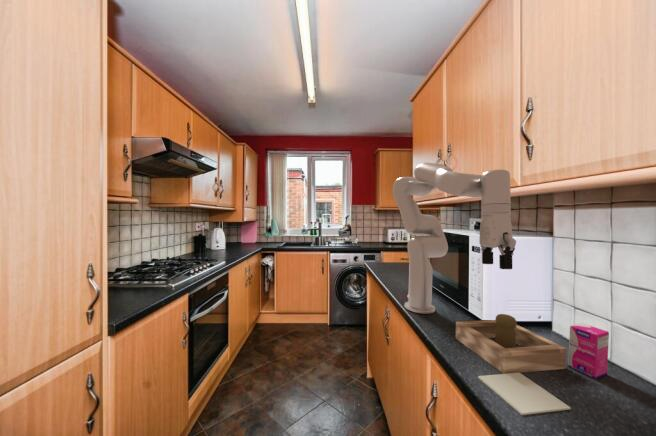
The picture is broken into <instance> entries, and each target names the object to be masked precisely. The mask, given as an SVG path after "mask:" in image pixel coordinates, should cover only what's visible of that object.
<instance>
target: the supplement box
mask: <svg viewBox="0 0 656 436" xmlns="http://www.w3.org/2000/svg"><path fill="white" fill-rule="evenodd" d="M609 333H610V332H609V331H608V330H604V329H601V328H598V327H594V326H591V325H589V324H586V323H583V322H580V323H577V324H573V325H570V326H569V339H568V343H569V344H568V363H567V366H568V367H569V368H571V369H574V370H575V371H579V372H580V373H582V374H585V375H587V376H589V377H590V378H593V379H595V380H596V379H597V378H598V379H599V378H600V377H603V376H607V375H608V357H609V339H610V337H609V336H610V334H609Z"/></svg>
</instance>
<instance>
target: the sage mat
mask: <svg viewBox="0 0 656 436" xmlns="http://www.w3.org/2000/svg"><path fill="white" fill-rule="evenodd" d="M477 379H479V380H480V381H481V382H482V383H483V384H484V385H485V386H487V387H488V388H489V389H491V390H492V391H493V392H494V393H495V395H497V396H499V397H500V399H502V400H503V401H505V403H507V404H508V405H509V406H510V407H512V408H513V409H514V410H515V411H516V412H517V413H519V415H520V416H528V415H537V414H543V413H552V412H560V411H567V410H569V411H570V410H571V409H572V408H571V406H569V405H567V404H566V403H564V402H563V401H562V400H560V399H559V398H557V397H555V395H553V394H552V393H550V392H549V391H547V390H546V389H544V388H543V387H542V386H540V385H538V383H536V382H534V381H532V380H531V379H530V378H528V377H526V376H525V375H524V374H522V372H521V373H508V374H503V373H500V374H499V373H498V374H490V375H489V374H487V375H478V376H477Z"/></svg>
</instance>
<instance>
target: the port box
mask: <svg viewBox="0 0 656 436" xmlns="http://www.w3.org/2000/svg"><path fill="white" fill-rule="evenodd" d="M496 330H497V323H496V319H487V320H486V319H485V320H468V321H467V320H465V321H455V339H456V340H457V341H458V342H459V343H461V344H462V345H464V346H466V347H467V348H468V349H469V350H471V351H472V352H474V353H475V354H477V356H479V357H480V358H482V359H483V360H484V361H486V362H487V363H488V364H490V365H491V366H493V368H495V369H497V371H499V372H501V374H508V373H521V374H522V373H531V372H542V371H552V370H555V371H556V370H564V369H565V370H566V365H567V363H566V360H567V347H564V346H562V345H560V344H558V343H556V342H554V341H552V340H550V339H548V338H545V337H544V336H541V335H540V334H537V333H535V332H534V331H531V330H529V329H527V328H525V327H522V326H520V325H519V324H517V325H516V327H515V328H514V332H515V340H516V345H518V347H517V346H516V348H504V347H502V346H500V345H499V344H497V343H496V342H494V340H492V338H494V339H495V335H496Z"/></svg>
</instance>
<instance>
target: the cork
mask: <svg viewBox="0 0 656 436" xmlns="http://www.w3.org/2000/svg"><path fill="white" fill-rule="evenodd" d="M495 320H496V323H497V330H496V335H495V338H494V340H493V341H494V342H496V343H497V344H499V345H500V346H502V347H504V348H516V347H517V343H516V340H515V332H514V328H515V327H516V325H518V323H517V320H516V318H515V317H514V316H512V315H509V314H505V313H499V314H497V315H495Z"/></svg>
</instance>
